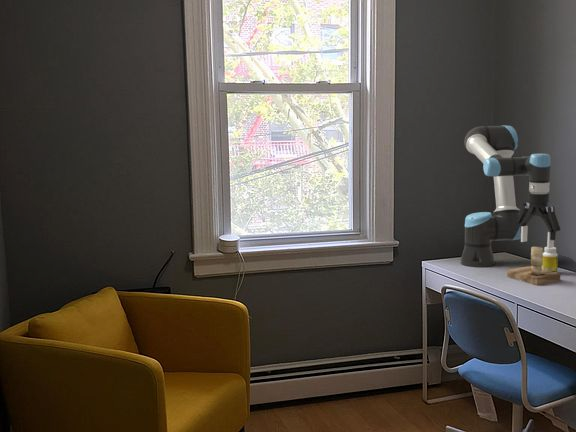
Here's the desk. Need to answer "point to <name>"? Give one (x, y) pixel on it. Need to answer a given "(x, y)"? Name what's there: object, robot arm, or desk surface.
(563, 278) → the desk surface
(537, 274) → the leg peg
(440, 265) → the desk surface
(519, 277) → the board
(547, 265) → the pill bottle
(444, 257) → the desk surface
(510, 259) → the desk surface
